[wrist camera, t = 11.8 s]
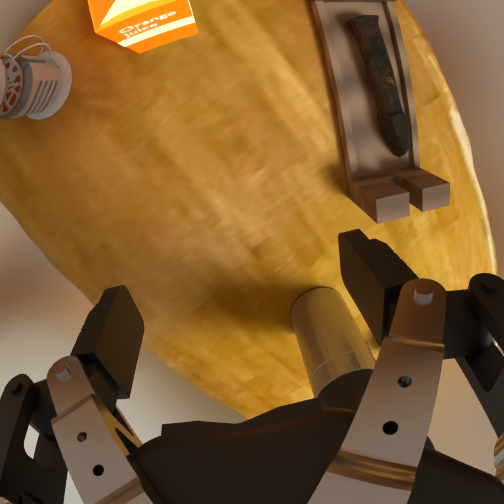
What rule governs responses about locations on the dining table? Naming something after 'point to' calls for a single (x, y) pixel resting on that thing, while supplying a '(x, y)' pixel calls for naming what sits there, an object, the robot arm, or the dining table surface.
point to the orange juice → (142, 21)
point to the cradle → (373, 115)
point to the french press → (33, 83)
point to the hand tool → (382, 83)
